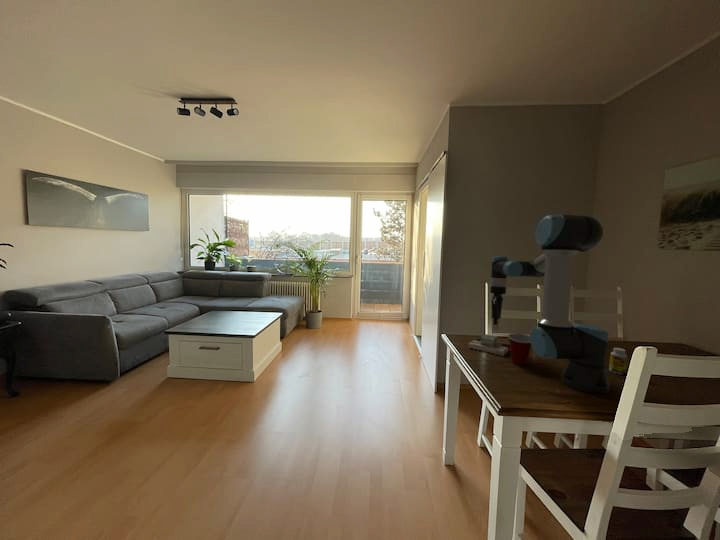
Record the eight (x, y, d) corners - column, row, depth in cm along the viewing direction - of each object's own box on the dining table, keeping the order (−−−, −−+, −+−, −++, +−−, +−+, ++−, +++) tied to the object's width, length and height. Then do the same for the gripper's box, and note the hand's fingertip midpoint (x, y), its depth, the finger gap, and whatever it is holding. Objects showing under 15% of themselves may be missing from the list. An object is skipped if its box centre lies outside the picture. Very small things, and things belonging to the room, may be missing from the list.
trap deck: (503, 356, 154) (504, 351, 154) (468, 348, 164) (468, 343, 164) (513, 346, 170) (514, 341, 169) (481, 339, 180) (481, 335, 180)
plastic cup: (508, 365, 142) (510, 338, 141) (503, 357, 153) (505, 332, 152) (535, 368, 140) (537, 341, 139) (528, 359, 150) (530, 334, 149)
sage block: (492, 347, 159) (493, 339, 158) (480, 344, 162) (481, 337, 162) (496, 344, 164) (497, 336, 164) (484, 341, 168) (485, 334, 167)
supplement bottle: (610, 372, 138) (612, 349, 137) (607, 368, 142) (610, 346, 142) (626, 375, 135) (629, 352, 134) (623, 371, 140) (626, 348, 139)
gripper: (494, 284, 175) (491, 327, 177) (487, 286, 165) (484, 331, 166) (509, 285, 170) (506, 329, 172) (502, 287, 160) (499, 334, 162)
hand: (495, 330), depth 169 cm, fingers closed
